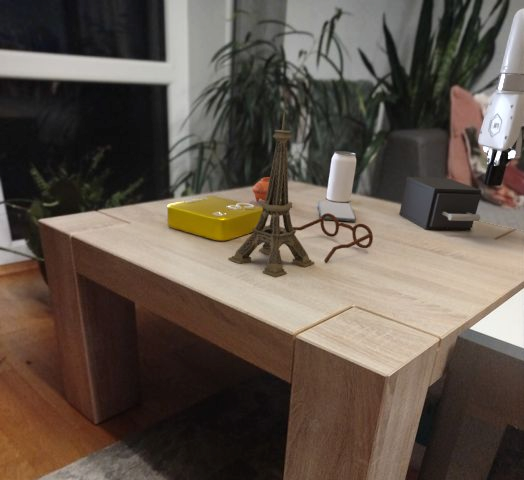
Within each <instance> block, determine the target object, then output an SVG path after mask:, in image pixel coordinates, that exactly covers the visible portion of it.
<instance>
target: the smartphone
mask: <svg viewBox="0 0 524 480" xmlns="http://www.w3.org/2000/svg"><path fill="white" fill-rule="evenodd" d="M317 206H318V207H317V208H318V211H319V213H318V215H319V219H320V218H321V217H322V216H323V215H324V214H326V213H330V214H332V215H334V216H335V217H336V218H337V220H338V222H341V221H342V222H352V223H354V222H356V221H357V218H356V215H355V212H354V210H353V207H352V204H351V203H349V202H346V203H339V202H333V201H325V200H319V201H318V202H317ZM324 220H329V221H334V220H333V219H332V218H331V217H328V216H326V217H325V218H324Z"/></svg>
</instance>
